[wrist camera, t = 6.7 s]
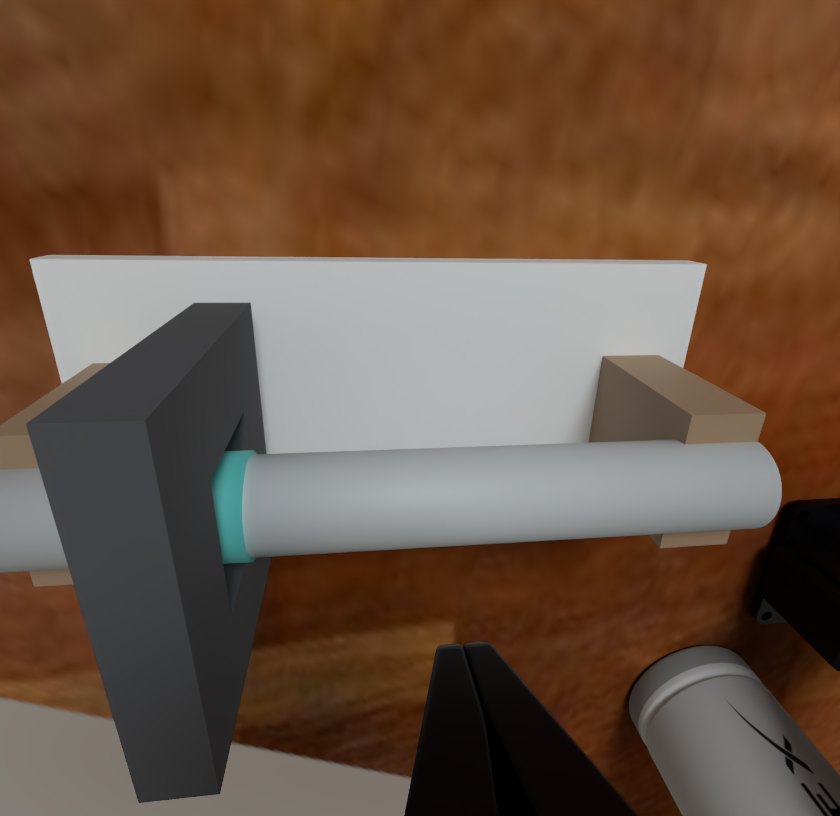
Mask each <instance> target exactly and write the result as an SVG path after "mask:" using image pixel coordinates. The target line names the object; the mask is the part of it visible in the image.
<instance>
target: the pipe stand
mask: <svg viewBox="0 0 840 816" xmlns="http://www.w3.org/2000/svg"><path fill="white" fill-rule="evenodd" d="M30 263H31V267H32V271H33V275H34V279H35V283H36V286H37V290H38V294H39V298H40V302H41V306H42V309H43V313H44V317H45V321H46V325H47V329H48V332H49V336H50V340H51V344H52V348H53V352H54V355H55V359H56V363H57V367H58V371H59V375H60V379H61V382H62V384H61V385H60V386H58V387H57V388H55V389H54V390H52V391H51V392H49V393H48V394H46V395H45V396H43V397H42V398H40V399H39V400H37V401H36V402H34V403H33V404H31V405H30V406H28V407H27V408H25V409H24V410H22V411H21V412H19V413H18V414H16V415H15V416H13V417H12V418H11V419H9V420H8V421H6V422H5V423H3V424H2V425H0V572H17V571H29V572H30V575H31V578H32V581H33V584H34V587H37V586H53V585H69V584H73V581H72V577H71V574H70V571H69V567H68V564H67V561H66V557H65V554H64V551H63V547H62V544H61V541H60V537H59V534H58V531H57V527H56V524H55V520H54V517H53V514H52V510H51V507H50V504H49V500H48V497H47V494H46V490H45V487H44V484H43V480H42V477H41V474H40V470H39V467H38V464H37V460H36V457H35V453H34V450H33V447H32V443H31V440H30V437H29V433H28V430H27V427H26V423H27V422H29V421H30V420H32V419H33V418H34V417H36V416H37V415H39V414H40V413H41V412H43V411H44V410H46V409H47V408H48V407H50V406H51V405H53V404H54V403H55V402H57V401H58V400H59V399H61V398H62V397H64V396H65V395H66V394H68V393H69V392H71V391H72V390H73V389H75V388H76V387H78V386H79V385H80V384H82V383H83V382H85V381H86V380H87V379H89V378H90V377H92V376H93V375H94V374H96V373H97V372H98V371H100V370H101V369H103V368H104V367H105V366H107V365H108V364H110V363H111V362H112V361H114V360H115V359H117V358H118V357H119V356H121V355H122V354H124V353H125V352H126V351H128V350H129V349H130V348H132V347H133V346H135V345H136V344H137V343H139V342H140V341H142V340H143V339H144V338H146V337H147V336H149V335H150V334H151V333H153V332H154V331H156V330H157V329H158V328H160V327H161V326H162V325H164V324H165V323H167V322H168V321H169V320H171V319H172V318H174V317H175V316H176V315H178V314H179V313H181V312H182V311H183V310H185V309H186V308H188V307H189V306H190V305H192V304H193V303H251V311H252V320H253V330H254V339H255V349H256V359H257V368H258V378H259V387H260V397H261V407H262V416H263V426H264V436H265V445H266V454H257V453H256V452H255V451H254V450H247V451H224V453H223V455H222V457H221V459H220V462H219V464H218V466H217V468H216V470H215V472H214V474H213V476H212V478H211V480H210V482H211V488H212V495H213V501H214V508H215V514H216V521H217V527H218V534H219V540H220V547H221V553H222V560H223V564H231V563H248V562H254V560H255V559H256V558H257V557H274V556H291V555H308V554H325V553H343V552H360V551H377V550H394V549H411V548H428V547H445V546H463V545H480V544H497V543H514V542H531V541H548V540H565V539H583V538H600V537H617V536H634V535H649V536H650V537H651V539H652V540H653V541H654V542H655V543H656V544H657V546H658V547H659V548H668V547H684V546H701V545H717V544H726V543H727V540H728V537H729V534H730V530H737V529H754V528H760V527H763V526H765V525H767V524H768V523H769V522H771V521H772V519H773V518H774V517H775V515H776V514H777V511H778V509H779V506H780V503H781V496H782V486H781V478H780V474H779V471H778V468H777V465H776V463H775V461H774V459H773V458H772V456H771V455H770V453H769V452H768V451H767V449H766V448H765V447H763V446H762V445H761V444H760V443H758V439H759V435H760V432H761V429H762V426H763V422H764V419H765V416H766V413H765V412H763V411H761V410H759V409H757V408H756V407H754V406H752V405H750V404H748V403H746V402H745V401H743V400H741V399H739V398H737V397H735V396H733V395H732V394H730V393H728V392H726V391H724V390H722V389H721V388H719V387H717V386H715V385H713V384H711V383H709V382H708V381H706V380H704V379H702V378H700V377H698V376H696V375H695V374H693V373H691V372H689V371H687V370H685V369H684V368H683V366H684V362H685V357H686V353H687V349H688V344H689V340H690V336H691V331H692V327H693V322H694V318H695V314H696V309H697V305H698V301H699V296H700V292H701V288H702V283H703V279H704V275H705V270H706V266H707V264H703V263H698V262H694V261H689V260H587V259H470V258H353V257H236V256H119V255H46V256H42V257H37V258H32V259H30Z"/></svg>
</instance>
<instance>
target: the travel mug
mask: <svg viewBox="0 0 840 816" xmlns="http://www.w3.org/2000/svg"><path fill="white" fill-rule="evenodd" d="M629 713H630V716H631V719H632V721H633V723H634V725H635V727H636V729H637V730H638V732H639V734H640V736H641V738H642V740H643V742H644V743H645V745H646V746H647V748H648V751H649V753H650V755H651V757H652V759H653V761H654V763H655V765H656V766H657V768H658V770H659V772H660V774H661V776H662V778H663V780H664V782H665V784H666V785H667V787H668V789H669V791H670V793H671V795H672V797H673V799H674V801H675V803H676V804H677V806H678V808H679V810H680V812H681V814H682V816H840V775H839V774H838V773H837V772H836V770H835V769H834V768H833V767H832V766H831V764H830V763H829V762H828V761H827V759H826V758H825V757H824V756H823V755H822V753H821V752H820V751H819V750H818V749H817V747H816V746H815V745H814V744H813V743H812V741H811V740H810V739H809V738H808V737H807V735H806V734H805V733H804V732H803V731H802V729H801V728H800V727H799V726H798V725H797V723H796V722H795V721H794V720H793V719H792V717H791V716H790V715H789V714H788V713H787V711H786V710H785V709H784V708H783V707H782V705H781V704H780V703H779V702H778V701H777V699H776V698H775V697H774V696H773V695H772V693H771V692H770V691H769V690H768V689H767V688H766V687H765V686H764V685H763V684H762V682H761V680H760V679H759V678H758V676H757V675H756V674H755V673H754V672H753V670H752V669H751V668H750V667H749V666H748V664H747V663H746V662H745V661H744V660H743V659H742V658H741V657H740V656H739V655H738V654H737V653H735V652H733V651H731V650H729V649H726V648H722V647H719V646H707V645H706V646H696V647H690V648H686V649H682V650H679V651H677V652H674V653H672V654H670V655H668V656H666V657H664V658H662V659H660V660H659V661H658V662H656V663H655V664H654V665H652V666H651V667H650V668H649V669H648V670H647V671H646V672H645V673H644V674H643V675H642V676H641V677H640V679H639V680H638V681H637V683H636V684H635V686H634V688H633V690H632V692H631V696H630V700H629Z"/></svg>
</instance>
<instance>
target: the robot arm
mask: <svg viewBox="0 0 840 816" xmlns="http://www.w3.org/2000/svg"><path fill="white" fill-rule="evenodd" d="M750 614H751V616H752V617H753V618H754V619H755V621H756V622H757V623H759V624H776V623H789V624H790V625H791V626H792V627H793V628H794V629H795V630H796V631H797V632H798V633H799V634H800V635H801V636H802V637H803V638H804V639H805V640H806V641H807V642H808V643H809V644H810V645H811V646H812V647H813V648H814V649H815V650H816V651H817V652H818V653H819V654H820V655H821V656H822V657H823V658H824V659H825V660H826V661H827V662H828V663H829V664H830V665H831V666H832V667H833V668H834V669H835V670H837V671H840V498H834V499H815V500H799V501H795V502H793V503H791V504H790V505H789V506H788V507H787V509H786V510H785V513H784V516H783V519H782V522H781V525H780V527H779V530H778V533H777V536H776V539H775V542H774V545H773V548H772V550H771V553H770V556H769V559H768V562H767V565H766V568H765V570H764V573H763V576H762V579H761V582H760V585H759V588H758V591H757V593H756V596H755V599H754V602H753V605H752V608H751V611H750ZM404 816H638V815H637V813H636V812H635V811H634V810H633V809H632V808H631V806H630V805H629V804H628V803H627V802H626V801H625V799H624V798H623V797H622V796H621V795H620V794H619V792H618V791H617V790H616V789H615V788H614V787H613V785H612V784H611V783H610V782H609V781H608V780H607V778H606V777H605V776H604V775H603V774H602V773H601V771H600V770H599V769H598V768H597V767H596V766H595V764H594V763H593V762H592V761H591V760H590V759H589V757H588V756H587V755H586V754H585V753H584V752H583V751H582V749H581V748H580V747H579V746H578V745H577V744H576V742H575V741H574V740H573V739H572V738H571V737H570V735H569V734H568V733H567V732H566V731H565V730H564V728H563V727H562V726H561V725H560V724H559V723H558V721H557V720H556V719H555V718H554V717H553V716H552V714H551V713H550V712H549V711H548V710H547V709H546V707H545V706H544V705H543V704H542V703H541V702H540V700H539V699H538V698H537V697H536V696H535V695H534V694H533V692H532V691H531V690H530V689H529V688H528V687H527V685H526V684H525V683H524V682H523V681H522V680H521V678H520V677H519V676H518V675H517V674H516V673H515V671H514V670H513V669H512V668H511V667H510V666H509V664H508V663H507V662H506V661H505V660H504V659H503V657H502V656H501V655H500V654H499V653H498V652H497V650H496V649H495V648H494V647H493V646H492V645H491V644H490V643H488V642H473V643H466V644H465V645H464V646H462V645H461V644H449V645H440V646H438V647H437V650H436V654H435V659H434V664H433V670H432V675H431V680H430V685H429V690H428V696H427V701H426V706H425V711H424V716H423V722H422V727H421V732H420V737H419V742H418V748H417V753H416V758H415V763H414V769H413V774H412V779H411V784H410V789H409V795H408V800H407V805H406V810H405V815H404Z"/></svg>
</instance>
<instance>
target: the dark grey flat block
mask: <svg viewBox="0 0 840 816" xmlns="http://www.w3.org/2000/svg"><path fill="white" fill-rule="evenodd" d="M26 427H27V430H28V433H29V437H30V440H31V443H32V447H33V450H34V453H35V457H36V460H37V464H38V467H39V470H40V474H41V477H42V480H43V484H44V487H45V490H46V494H47V497H48V500H49V504H50V507H51V510H52V514H53V517H54V520H55V524H56V527H57V531H58V534H59V537H60V541H61V544H62V547H63V551H64V554H65V557H66V561H67V564H68V567H69V571H70V574H71V577H72V581H73V584H74V587H75V591H76V594H77V598H78V601H79V604H80V608H81V611H82V614H83V618H84V621H85V624H86V628H87V631H88V634H89V638H90V641H91V644H92V648H93V651H94V654H95V658H96V661H97V664H98V668H99V671H100V675H101V678H102V681H103V685H104V688H105V691H106V695H107V698H108V701H109V705H110V708H111V711H112V715H113V718H114V721H115V725H116V728H117V731H118V735H119V738H120V741H121V745H122V748H123V751H124V754H125V758H126V762H127V765H128V768H129V771H130V775H131V778H132V782H133V785H134V788H135V792H136V795H137V798H138V802H139V803H141V802H151V801H160V800H169V799H178V798H187V797H196V796H204V795H205V796H206V795H214V794H220V791H221V787H222V782H223V777H224V773H225V768H226V763H227V759H228V755H229V750H230V745H231V741H232V736H233V732H234V727H235V723H236V718H237V713H238V709H239V704H240V700H241V695H242V691H243V686H244V681H245V677H246V672H247V668H248V663H249V659H250V654H251V650H252V645H253V640H254V636H255V631H256V627H257V622H258V618H259V613H260V608H261V604H262V599H263V595H264V590H265V586H266V581H267V576H268V572H269V567H270V563H271V558H272V557H257V558H256V559H255V560H254V562H248V563H231V564H223V560H222V553H221V547H220V540H219V534H218V527H217V521H216V514H215V508H214V501H213V495H212V488H211V482H210V480H211V478H212V476H213V474H214V472H215V470H216V468H217V466H218V464H219V462H220V459H221V457H222V455H223V453H224V451H247V450H254V451H255V452H256V453H257V454H266V445H265V436H264V426H263V416H262V407H261V397H260V387H259V378H258V368H257V359H256V349H255V339H254V330H253V320H252V311H251V303H193V304H192V305H190V306H189V307H188V308H186V309H185V310H183V311H182V312H181V313H179V314H178V315H176V316H175V317H174V318H172V319H171V320H169V321H168V322H167V323H165V324H164V325H162V326H161V327H160V328H158V329H157V330H156V331H154V332H153V333H151V334H150V335H149V336H147V337H146V338H144V339H143V340H142V341H140V342H139V343H137V344H136V345H135V346H133V347H132V348H130V349H129V350H128V351H126V352H125V353H124V354H122V355H121V356H119V357H118V358H117V359H115V360H114V361H112V362H111V363H110V364H108V365H107V366H105V367H104V368H103V369H101V370H100V371H98V372H97V373H96V374H94V375H93V376H92V377H90V378H89V379H87V380H86V381H85V382H83V383H82V384H80V385H79V386H78V387H76V388H75V389H73V390H72V391H71V392H69V393H68V394H66V395H65V396H64V397H62V398H61V399H59V400H58V401H57V402H55V403H54V404H53V405H51V406H50V407H48V408H47V409H46V410H44V411H43V412H41V413H40V414H39V415H37V416H36V417H34V418H33V419H32V420H30V421H29V422H27V423H26Z"/></svg>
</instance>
